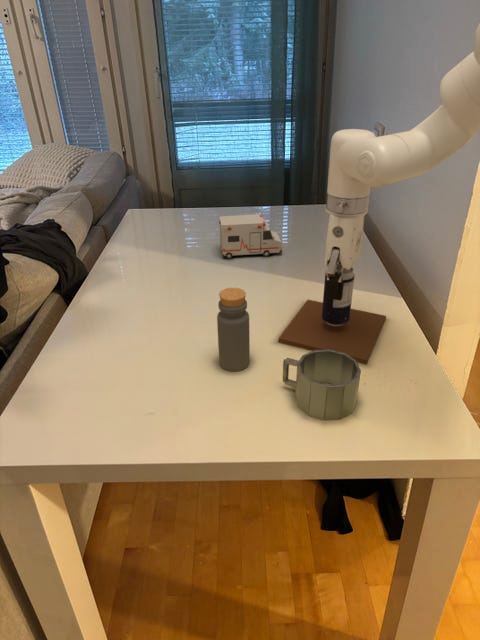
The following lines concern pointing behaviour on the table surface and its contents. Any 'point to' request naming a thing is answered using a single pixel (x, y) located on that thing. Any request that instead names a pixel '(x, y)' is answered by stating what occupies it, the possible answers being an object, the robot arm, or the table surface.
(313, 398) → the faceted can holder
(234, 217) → the toy vehicle
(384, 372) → the table surface
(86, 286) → the table surface
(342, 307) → the beverage can
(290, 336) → the mat
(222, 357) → the bottle
